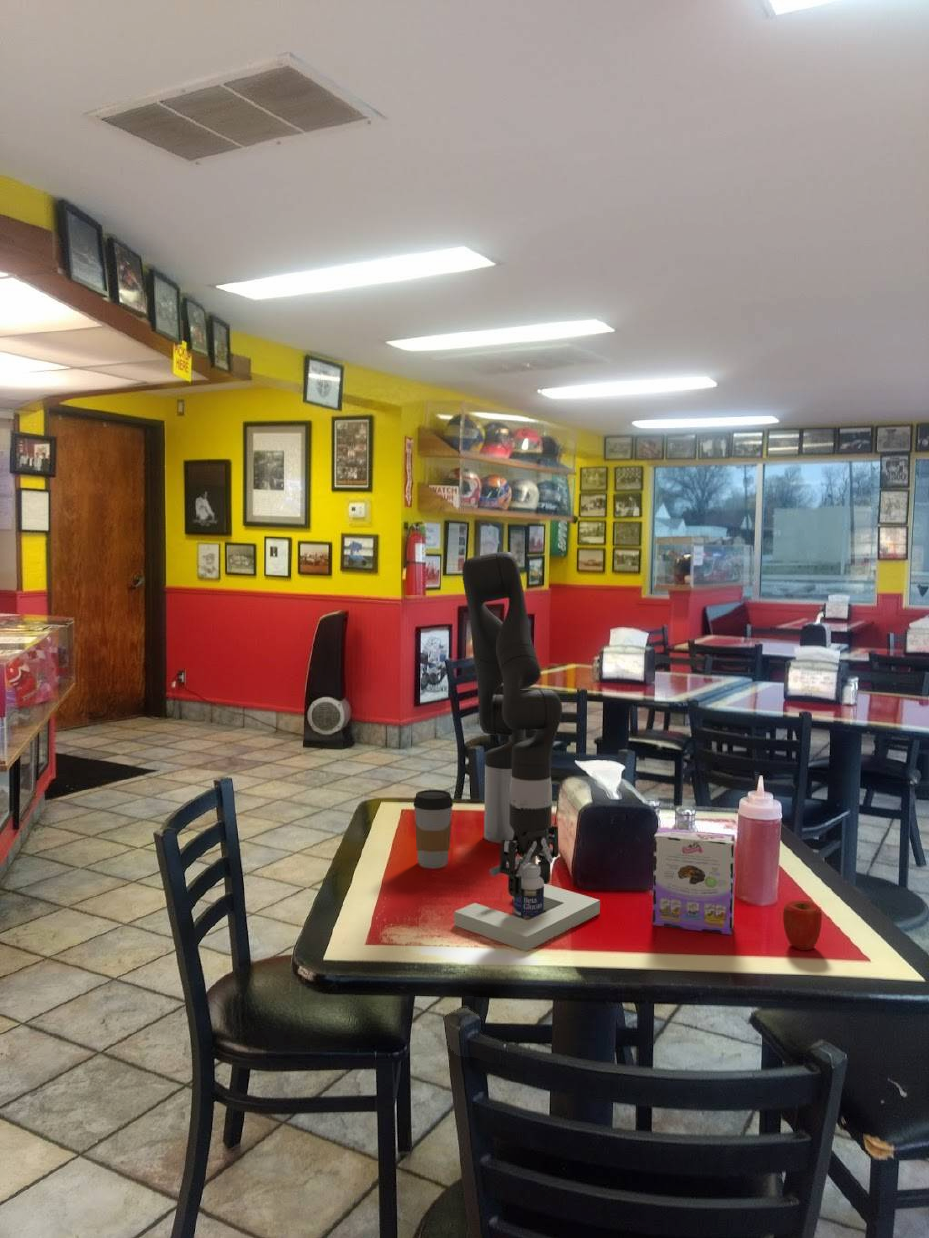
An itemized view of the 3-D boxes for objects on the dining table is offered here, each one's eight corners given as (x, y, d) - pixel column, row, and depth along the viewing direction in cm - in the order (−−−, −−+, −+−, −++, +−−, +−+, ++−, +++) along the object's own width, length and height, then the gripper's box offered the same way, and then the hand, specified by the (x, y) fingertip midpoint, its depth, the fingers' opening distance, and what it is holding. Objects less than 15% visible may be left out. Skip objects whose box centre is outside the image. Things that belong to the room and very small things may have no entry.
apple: (789, 935, 162) (791, 893, 161) (826, 945, 158) (827, 902, 157) (776, 947, 157) (777, 903, 156) (813, 957, 153) (814, 913, 152)
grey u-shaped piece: (530, 891, 181) (530, 846, 181) (599, 913, 171) (600, 865, 170) (454, 925, 165) (454, 875, 164) (526, 951, 154) (527, 898, 154)
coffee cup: (451, 870, 193) (452, 799, 192) (411, 870, 193) (411, 799, 192) (453, 857, 201) (453, 789, 200) (414, 857, 201) (414, 788, 200)
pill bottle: (523, 927, 164) (524, 872, 164) (507, 916, 169) (508, 863, 168) (549, 921, 167) (550, 868, 166) (533, 911, 172) (534, 859, 171)
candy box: (733, 923, 167) (736, 833, 165) (731, 936, 161) (734, 843, 160) (655, 913, 171) (657, 825, 170) (651, 925, 166) (653, 834, 164)
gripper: (537, 789, 174) (536, 873, 175) (489, 805, 163) (488, 895, 165) (570, 796, 169) (569, 883, 170) (523, 813, 158) (521, 906, 160)
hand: (529, 889), depth 168 cm, fingers open, 8 cm apart
